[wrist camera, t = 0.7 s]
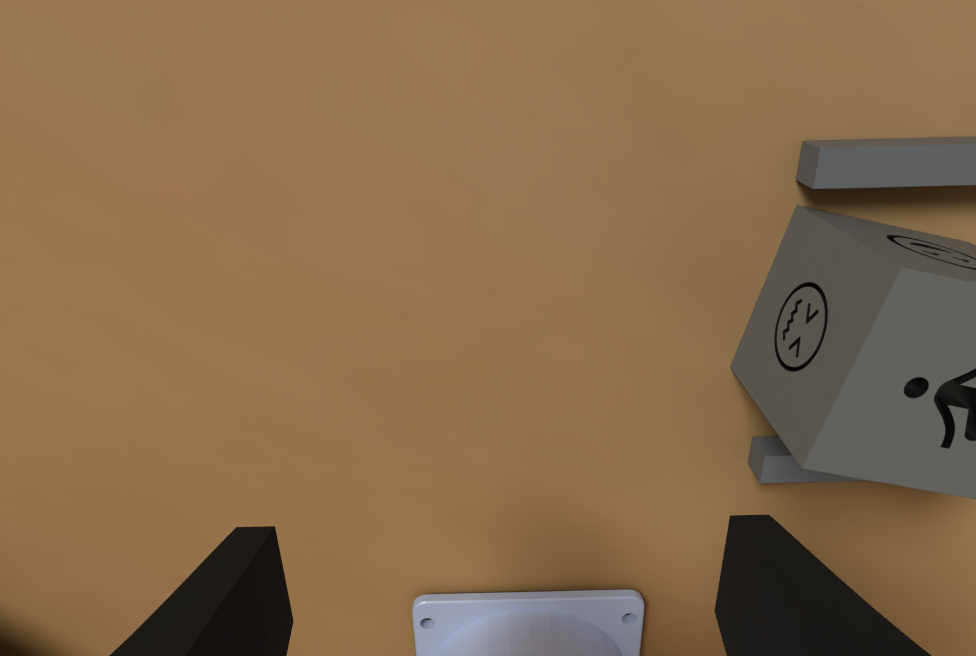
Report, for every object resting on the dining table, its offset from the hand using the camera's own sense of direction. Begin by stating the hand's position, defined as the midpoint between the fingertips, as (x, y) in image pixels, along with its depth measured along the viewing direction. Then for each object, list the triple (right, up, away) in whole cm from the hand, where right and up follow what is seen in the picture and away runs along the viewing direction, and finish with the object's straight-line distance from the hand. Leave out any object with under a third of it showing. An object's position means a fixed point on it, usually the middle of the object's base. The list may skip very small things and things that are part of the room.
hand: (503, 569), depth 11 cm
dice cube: (+10, +5, +9) cm, 14 cm away
